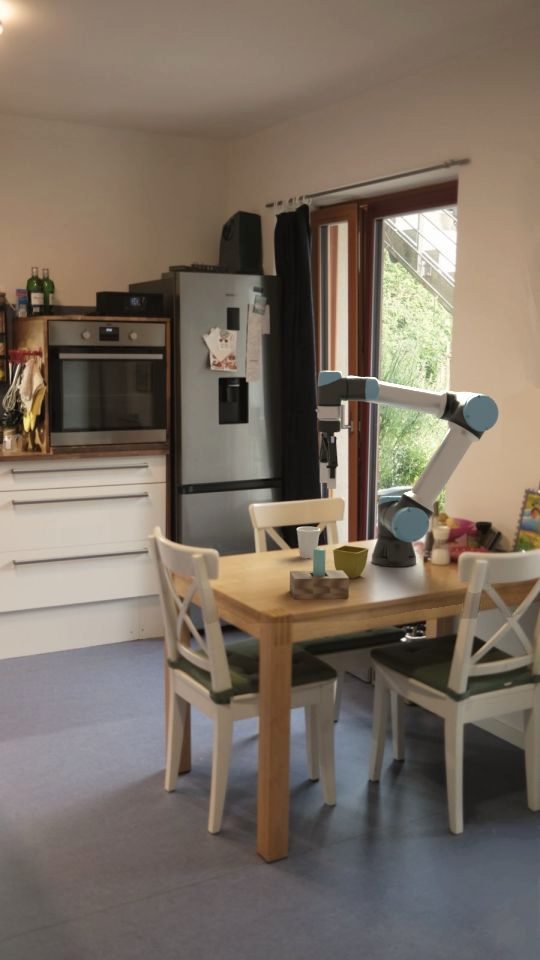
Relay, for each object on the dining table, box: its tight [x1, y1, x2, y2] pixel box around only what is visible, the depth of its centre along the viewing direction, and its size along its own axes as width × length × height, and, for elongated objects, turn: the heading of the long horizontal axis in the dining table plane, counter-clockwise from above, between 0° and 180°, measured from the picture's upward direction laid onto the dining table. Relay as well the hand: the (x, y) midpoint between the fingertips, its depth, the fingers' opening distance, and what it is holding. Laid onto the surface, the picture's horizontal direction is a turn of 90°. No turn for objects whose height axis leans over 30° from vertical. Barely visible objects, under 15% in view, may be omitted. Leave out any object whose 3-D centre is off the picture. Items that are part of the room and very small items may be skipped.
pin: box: [312, 548, 327, 577], centre depth 289 cm, size 4×4×12 cm
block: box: [289, 569, 350, 600], centre depth 290 cm, size 16×10×6 cm, turn 97°
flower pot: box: [332, 544, 369, 579], centre depth 313 cm, size 9×9×9 cm
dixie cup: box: [296, 526, 321, 559], centre depth 342 cm, size 8×8×10 cm
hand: (327, 485), depth 314 cm, fingers open, 13 cm apart
